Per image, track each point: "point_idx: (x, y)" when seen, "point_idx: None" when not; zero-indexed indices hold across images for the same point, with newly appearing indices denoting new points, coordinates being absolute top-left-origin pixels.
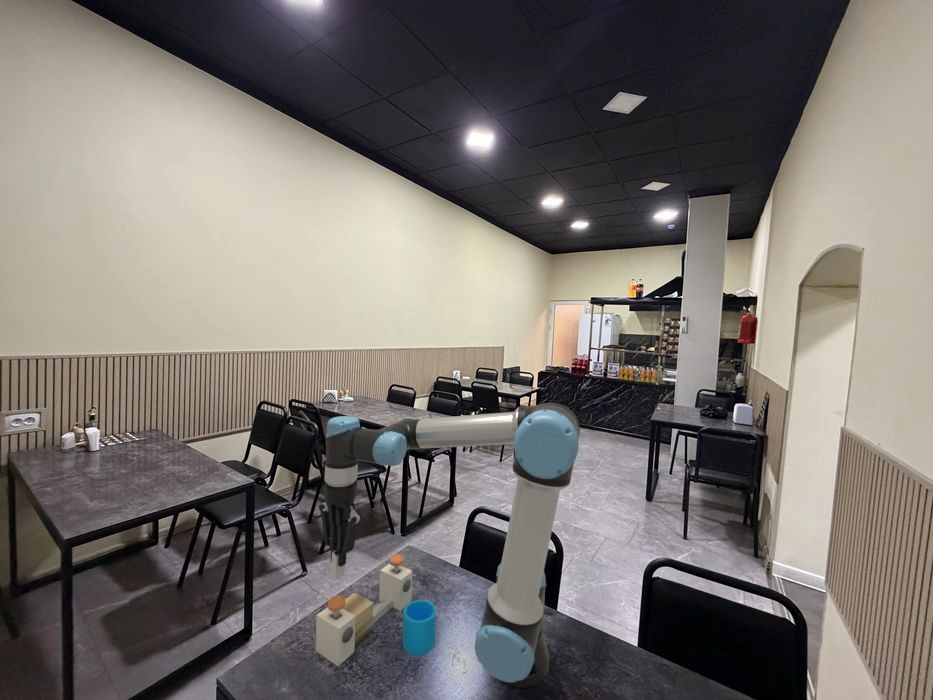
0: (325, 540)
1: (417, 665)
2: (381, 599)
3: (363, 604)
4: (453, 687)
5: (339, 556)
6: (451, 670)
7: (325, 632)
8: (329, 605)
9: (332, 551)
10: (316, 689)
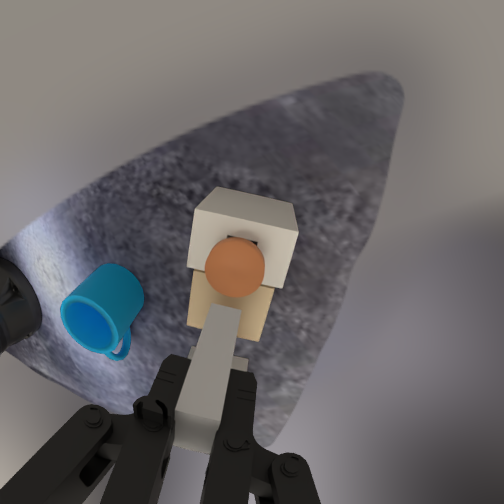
0: (301, 485)
1: (90, 245)
2: (241, 360)
3: (205, 313)
4: (36, 229)
5: (169, 401)
6: (51, 255)
7: (257, 211)
8: (242, 244)
9: (236, 426)
10: (222, 124)
